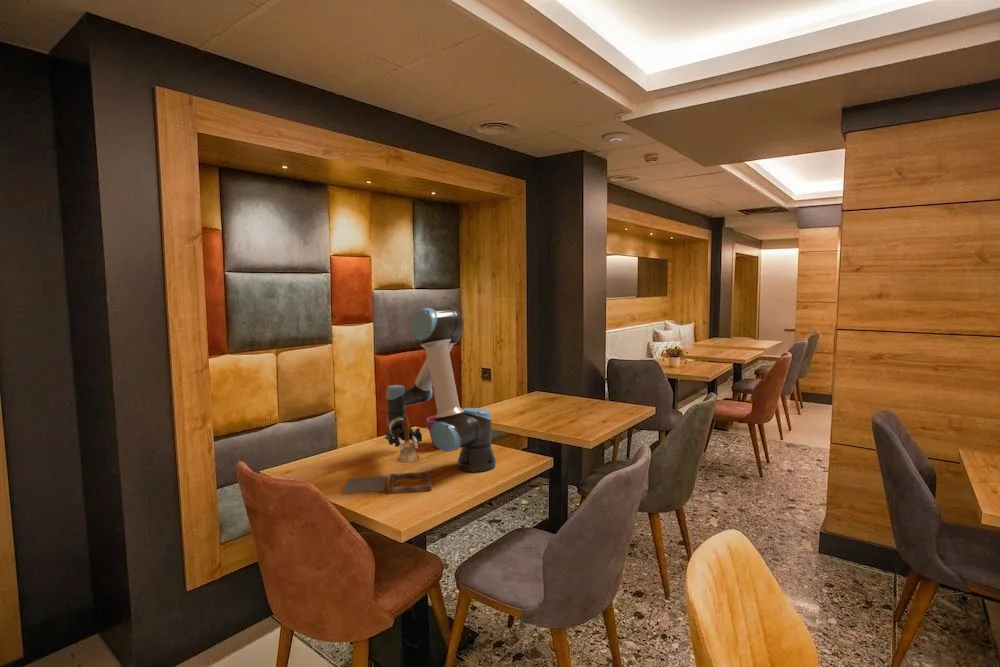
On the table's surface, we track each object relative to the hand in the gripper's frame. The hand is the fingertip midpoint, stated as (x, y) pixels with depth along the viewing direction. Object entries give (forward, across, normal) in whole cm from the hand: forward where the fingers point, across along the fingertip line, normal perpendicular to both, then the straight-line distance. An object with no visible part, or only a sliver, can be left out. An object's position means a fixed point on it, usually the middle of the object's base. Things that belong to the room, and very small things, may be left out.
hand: (409, 445), depth 180 cm
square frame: (-5, 0, -16) cm, 16 cm away
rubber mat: (-9, +15, -16) cm, 24 cm away
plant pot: (-44, -22, -16) cm, 52 cm away
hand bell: (-5, 0, -7) cm, 8 cm away
